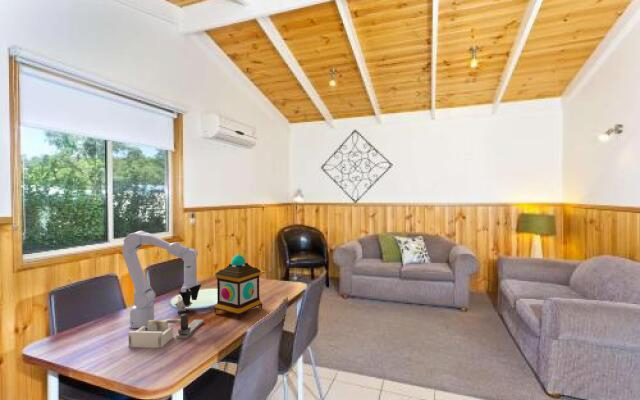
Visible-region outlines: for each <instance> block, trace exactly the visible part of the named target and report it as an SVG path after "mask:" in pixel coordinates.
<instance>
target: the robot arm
mask: <svg viewBox="0 0 640 400" xmlns="http://www.w3.org/2000/svg"><path fill="white" fill-rule="evenodd" d="M144 245H153V246H154V247H155V246H156V247H158V248H161V249H164V250H166V251H167V254H169V255H172V256H174V257H177V258H179V259H182V261H183V284H182V287H181V289H180V290H179V292H178V293H179V296H180V297H182V299H183V302H184V305H185V306H189V305H190V301H191V300H192V301H196V300H198V296H199V291H200V289H201V287H202V284H201V283H200V279H198V270H197V268H198V267H197V266H198V264H197V258H198V255H199V254H198V251H197V250H196V248H193V247H191V248H190V246H185V245H182V244H180V242H179V241H174V242H171V243H170V242H168V241H166V240H164V239H162V238H160V237H158V236H156V235H153V234H151V233H150V232H146V231H144V230H138V231H136V232H131V233H128V234H127V235H126V236H125V238H124V239H123V246H122V250H121V251H122V254H121V255H122V256H123V259H124V262H125V266H126V267H127V271H128V274H129V276H130V279H131V281H132V285H133V288H134V290H133V291H134V292H133V297H134V300H133V304H134V305H133V306H132V308H131V309H130V313H129V321H130V322H129V326H128V328H129V329H134V328H135V329H139V328H141V327H142V326H145V329H148V321H149V320H155V303H154V300H155V299H156V296H157V294H156V291H154V290H153V288H152V286H151V285H150V284H149V283H148V281H147V278H146V276H145V273H144V271H143V268H142V264H141V262H140V259H139V257H138V253H137V252H138V250H139V249H141V248H140V247H142V246H144ZM190 306H191V305H190Z"/></svg>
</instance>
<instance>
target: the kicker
mask: <svg viewBox="0 0 640 400" xmlns="http://www.w3.org/2000/svg"><path fill="white" fill-rule="evenodd" d="M153 322H154V324H156V326H157V331H160V332H164V331H166V330H167V329H168V328H169V325H168V324H180V328H179V329H178V330H177V331H178V332H177V333H178V334H188V333H189V332H190V331H191V327H188V325H189V314H188V313H182V314H180V318H166V319H154V320H149V321H148V328H147V331H149V327H150V326H151V325H153ZM178 334H177V335H178Z"/></svg>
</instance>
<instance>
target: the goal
mask: <svg viewBox="0 0 640 400" xmlns="http://www.w3.org/2000/svg"><path fill="white" fill-rule="evenodd" d="M127 336H128V348H149V349H151V348H157V349H158V348H159V349H161V348H162V347H164V346H165V345H166V344H167V343H168V342H169V341H171V340H172V338H174V327H173V326H168V329H167V330H166V331H164V332H160V331H148V330H146V328H145V326H142V327H141V328H137V329H136V330H129V331H128V335H127Z"/></svg>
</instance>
